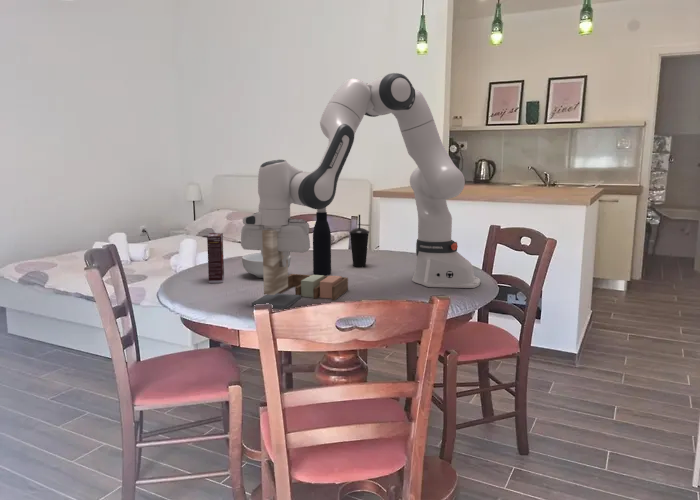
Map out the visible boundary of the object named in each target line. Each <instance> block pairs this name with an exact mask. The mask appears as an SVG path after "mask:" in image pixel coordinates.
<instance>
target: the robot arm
mask: <svg viewBox="0 0 700 500" xmlns="http://www.w3.org/2000/svg"><path fill="white" fill-rule="evenodd" d="M389 114H392V115H393V116H394V118H395V119H396V121H397V125H398V127H399V131H400V134H401V137H402V139H403V142H404V146H405V148H406V151H407V153H408V155H409V156H410V158H412V160H413V161H414V163H415V164H416V166H417V168H415V169H414V170H413V171H412V172H411V173H410V177H409V184H410V187H411V189H412V191H413V195H414V200H415V204H416V211H417V212H416V213H417V239H416V242H415V254H416V261H415V262H416V263H415V268H414V272H413V273H414V274H413V276H412V279H411V280H412V282H413V283H416V284H419V285H422V286H424V287H427V288H428V287H429V288H453V289H454V288H458V289H459V288H462V289H463V288H465V289H474V288H477V287H480V285H481V279H480V278H479V277H478V276H475V272H474V267H473V264H472V263H471V261H469V260H468V259H466V257H465V256H463V255H461V253H459V252H458V241H454V240H453V239H452V231H453V230H452V225H453V217H452V214H451V212H450V211H449V208H448V207H449V206H448V204H447V200H450V199H453V198H455V197H458V196H459V195H460V194H461V193H462V192H463V190H464V188H465V185H466V179H465V177H464V174H463V172H462V171H461V169H459V168H458V167H457V166H456V165H455V163H454V162H453V160H452V158H451V157H450V154H449V153H448V151H447V150H446V148H445V146H444V145H443V142H442V139H441V137H440V134H439V132H438V131H439V130H438V128H437V125H436V123H435V119H434V116H433V114H432V110H431V108H430V106H429V104H428V102H427V100H426V98H425V96H424V94H423V93H422V92H421V91H419V90H417V89H415V88H414V86H413V84H412V83H411V80H409V78H408V77H407V76H406V75H404V74H402V73H397V72H396V73H395V72H393V73H388V74H386V75H383V76H379V77H376V78H374V79H373V80H372V81H371V80H370V81H369V82H364V81H363V80H361V79H358V78H355V77H354V78H352V77H351V78H348V79H346V80H344V82H342V83H341V85H340V86H339V87H338V89H337V90H336V91H335V92H334V94H333V95H332V96H331V98H330V100H329V101H328V103H327V105H326V106H325V108H324V110H323V112H322V115H321V118H320V121H319V126H320V129H321V131H322V133H323V135H324V136H325V137H326V138H327V139H328V145H327V147H326V149H325V151H324V154H323V156H322V159H321V160H320V162H319V165H318V166H317V167H316V168H315V169H314V170H313V171H310V172H309V171H303V170H301V169H298V168H296V167H294V165H291V164H290V163H289V162H288V161H287V160H286V159H275V160H269V161H265V162H263V163H262V164H261V165H260V167H259V169H258V173H257V174H258V176H257V177H258V178H257V193H258V198H259V203H258V212H254V213H252V214H250V215H246V216H244V217H242V224H243V226H242V227H241V231H240V246H241V248H242V249H243V250H246V251H247V250H248V251H250V250H251V251H260V253H261V255H262V256H263V241H262V231H263V230H276V231H277V232H278V238H277V245H278V251H282V252H283V255H285V256H284V258H283V260H281V261H279V264H280V265H279V266H280V267H286V260H287V259H288V257H289V255H290V256H291V253H302V254H303V253H307V252H308V251H310V249H311V241H310V235H309V234H310V224H309V222H308V221H306V220H305V219H303V218H299V219H297V218H291V205H292V204H294V205H298V206H303V207H308V208H311V209H312V210H317V209H323V208H325V207H326V208H327V207H328V206H329V205H331V204H332V202H333V201H334V198H335V196H336V193H337V185H338V181H339V177H340V175H341V173H342V170H343V168H344V165H345V164H346V161H347V158H348V156H349V154H350V153H351V149H352V147H353V145H354V142H355V135H356V132H357V130H358V128H359V125H360V124H361V122H362V120H363V119H364V116H367V117H372V118H373V117H374V118H375V117H380V116H385V115H389Z"/></svg>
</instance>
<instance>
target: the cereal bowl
mask: <svg viewBox="0 0 700 500" xmlns="http://www.w3.org/2000/svg"><path fill="white" fill-rule="evenodd" d="M291 259H292V258H291V254H290V255H289V257H288V269H289V268H290V266H291ZM241 262H242V267H243V269H244V270H245V271H246V272H247V273H248V274H252V275H254V276H255V277H256V278H262V279H264V277H263V256H262V255H261V252H254V253H247V254H245V255H243V256H241Z"/></svg>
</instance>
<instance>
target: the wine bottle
mask: <svg viewBox="0 0 700 500" xmlns="http://www.w3.org/2000/svg"><path fill="white" fill-rule="evenodd" d="M315 217H316V219H315V223H314V227H313V230H312V231H313V233H312V269H313V270H312V272H313V273H312V275H324V276H331V275H332V232H331V228H330V224H329V222H328V212H327V207H325V208H323V209H316V214H315Z"/></svg>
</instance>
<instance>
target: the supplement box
mask: <svg viewBox="0 0 700 500" xmlns="http://www.w3.org/2000/svg"><path fill="white" fill-rule="evenodd" d="M223 234H224V233H223V232H210V233H208V235H207V236H206V241H207V242H206V243H207V244H206V245H207V264H208V265H207V267H208V270H207V273H208V283H209V284H223V281H224V278H225V268H224V267H225V266H224V263H225V262H224V238H223V237H224V236H223Z"/></svg>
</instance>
